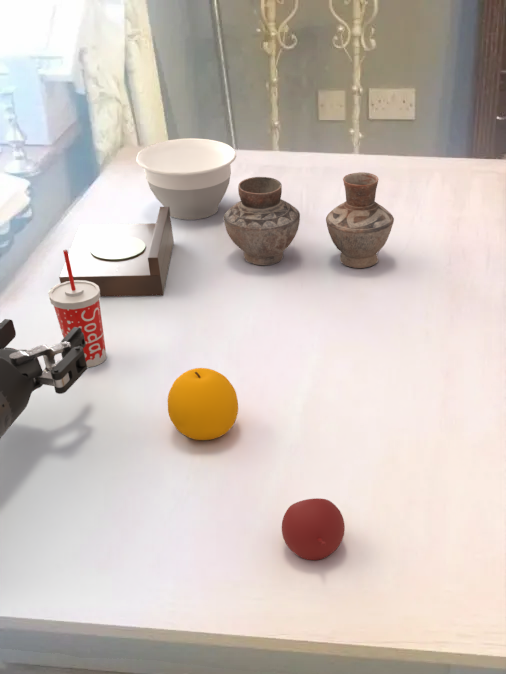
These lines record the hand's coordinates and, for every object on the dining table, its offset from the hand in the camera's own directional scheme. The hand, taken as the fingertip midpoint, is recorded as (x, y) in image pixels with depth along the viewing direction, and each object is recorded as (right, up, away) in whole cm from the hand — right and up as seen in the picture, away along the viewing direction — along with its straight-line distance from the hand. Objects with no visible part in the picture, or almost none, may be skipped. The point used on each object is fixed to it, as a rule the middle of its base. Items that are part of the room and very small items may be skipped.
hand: (45, 330), depth 103 cm
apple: (+19, -12, 0) cm, 22 cm away
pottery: (+29, +20, +32) cm, 48 cm away
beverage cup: (+2, 0, +11) cm, 12 cm away
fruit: (+32, -27, -15) cm, 44 cm away
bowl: (+10, +34, +46) cm, 58 cm away
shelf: (+2, +18, +30) cm, 35 cm away
